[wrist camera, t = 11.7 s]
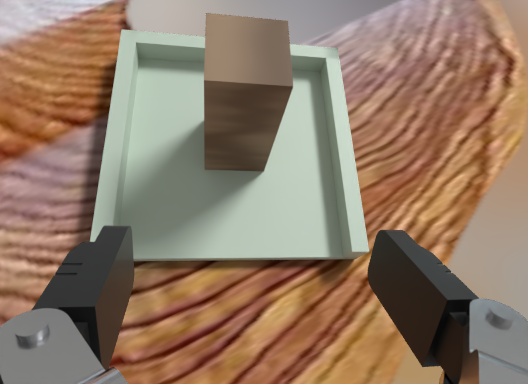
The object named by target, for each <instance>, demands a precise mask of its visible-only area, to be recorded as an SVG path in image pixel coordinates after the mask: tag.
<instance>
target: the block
mask: <svg viewBox="0 0 528 384" xmlns="http://www.w3.org/2000/svg"><path fill="white" fill-rule="evenodd" d="M292 89H293V76H292V64H291V53H290V42H289V31H288V21H282V20H272V19H262V18H252V17H241V16H231V15H222V14H221V15H220V14H211V13H206V33H205V62H204V162H205V170H233V171H264V170H265V167H266V164H267V161H268V158H269V155H270V153H271V150H272V147H273V144H274V141H275V138H276V135H277V132H278V129H279V127H280V124H281V121H282V118H283V115H284V112H285V109H286V106H287V103H288V101H289V98H290V95H291V92H292Z"/></svg>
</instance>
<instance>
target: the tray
mask: <svg viewBox="0 0 528 384" xmlns="http://www.w3.org/2000/svg"><path fill="white" fill-rule="evenodd" d="M290 53H291V64H292V76H293V89H292V92H291V95H290V98H289V101H288V103H287V106H286V109H285V112H284V115H283V118H282V121H281V124H280V127H279V129H278V132H277V135H276V138H275V141H274V144H273V147H272V150H271V153H270V155H269V158H268V161H267V164H266V167H265V170H264V171H233V170H205V162H204V62H205V37H202V36H190V35H179V34H166V33H156V32H144V31H133V30H122V31H121V38H120V44H119V51H118V58H117V64H116V71H115V78H114V84H113V91H112V98H111V104H110V111H109V118H108V124H107V131H106V138H105V144H104V151H103V158H102V164H101V171H100V178H99V184H98V191H97V198H96V204H95V211H94V218H93V224H92V231H91V238H90V242H95V240H96V238H97V236H98V235H99V233H100V231H101V229H102V227H103V226H105V225H110V226H131V229H132V239H133V257H134V261H213V260H320V259H356V258H358V257H360V256H362V255H364V254H365V253H367V252H369V248H368V241H367V235H366V229H365V222H364V216H363V209H362V203H361V196H360V190H359V183H358V177H357V170H356V164H355V157H354V151H353V144H352V138H351V131H350V125H349V119H348V112H347V106H346V99H345V93H344V86H343V80H342V73H341V67H340V60H339V54H338V48H328V47H317V46H305V45H294V44H290Z"/></svg>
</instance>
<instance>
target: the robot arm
mask: <svg viewBox="0 0 528 384" xmlns="http://www.w3.org/2000/svg"><path fill="white" fill-rule="evenodd" d="M368 281H369V284H370V287H371V288H372V290H373V291H374V293H375V294H376V296H377V298H378V299H379V301H380V302H381V304H382V305H383V307H384V308H385V310H386V311H387V313H388V315H389V316H390V318H391V319H392V321H393V322H394V324H395V325H396V327H397V328H398V330H399V332H400V333H401V335H402V336H403V338H404V339H405V341H406V342H407V344H408V345H409V347H410V348H411V350H412V352H413V353H414V354H415V356H416V358H417V359H418V361H419V362H420V364H421V365H422V367H429V366H441V367H442V369H443V372H442V374H441V377H440V380H439V384H528V321H527V320H526V318H525V317H523V316H522V315H521V314H520V313H519V312H517V311H516V310H514V309H513V308H511V307H509V306H507V305H505V304H502V303H500V302H497V301H494V300H489V299H479V298H478V297H477V296H476V295H475V294H474V293H473V292H472V291H471V290H470V289H469V288H468V287H467V286H466V285H465V284H464V283H463V282H461V280H459V278H457V277H456V276H455V275H454V274H453V273H451V271H450V270H449V269H448V268H447V267H446V266H445V265H443V264H442V262H441V261H440V260H439V259H438V258H437V257H436V256H435V255H434V254H433V253H431V252H429V251H428V250H426V249H424V248H423V247H421V246H419V245H418V244H417V243H416V242H415V241H414V240H413V239H412V238H411V237H410V236H409V235H408V234H407V233H406V232H405V231H403V230H380V231H379V232H378V233H377V236H376V239H375V243H374V247H373V251H372V255H371V259H370V263H369V267H368ZM133 282H134V257H133V239H132V229H131V226H110V225H105V226H103V227H102V229H101V231H100V233H99V235H98V236H97V238H96V240H95V242H82V243H81V244H80V245H78V246H77V247H75V248H74V249H72V250H71V251H70V252H69V253H68V255H67V256H66V258H65V259H64V261H63V262H62V266H60V267H59V268H58V270H57V272H56V274H55V276H53V278H52V279H51V281H50V282H49V284H48V286H47V287H46V289H45V290H44V292H43V293H42V295H41V296H40V298H39V300H38V301H37V303H36V304H35V306H34V307H33V309H32V310H31V311H28V312H25V313H22V314H20V315H18V316H16V317H14V318H12V319H10V320H9V321H7V322H6V323H4V324H3V325H2V326H1V327H0V384H128V383H127V381H126V380H125V379H124V377H123V376H122V374H121V373H120V372H119V371H118V370H117V369H116V368H114V367H111V368H110V369H108V368H109V365H110V362H111V358H112V355H113V352H114V348H115V345H116V342H117V338H118V335H119V332H120V328H121V325H122V322H123V318H124V315H125V312H126V308H127V305H128V302H129V298H130V295H131V292H132V288H133Z"/></svg>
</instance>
